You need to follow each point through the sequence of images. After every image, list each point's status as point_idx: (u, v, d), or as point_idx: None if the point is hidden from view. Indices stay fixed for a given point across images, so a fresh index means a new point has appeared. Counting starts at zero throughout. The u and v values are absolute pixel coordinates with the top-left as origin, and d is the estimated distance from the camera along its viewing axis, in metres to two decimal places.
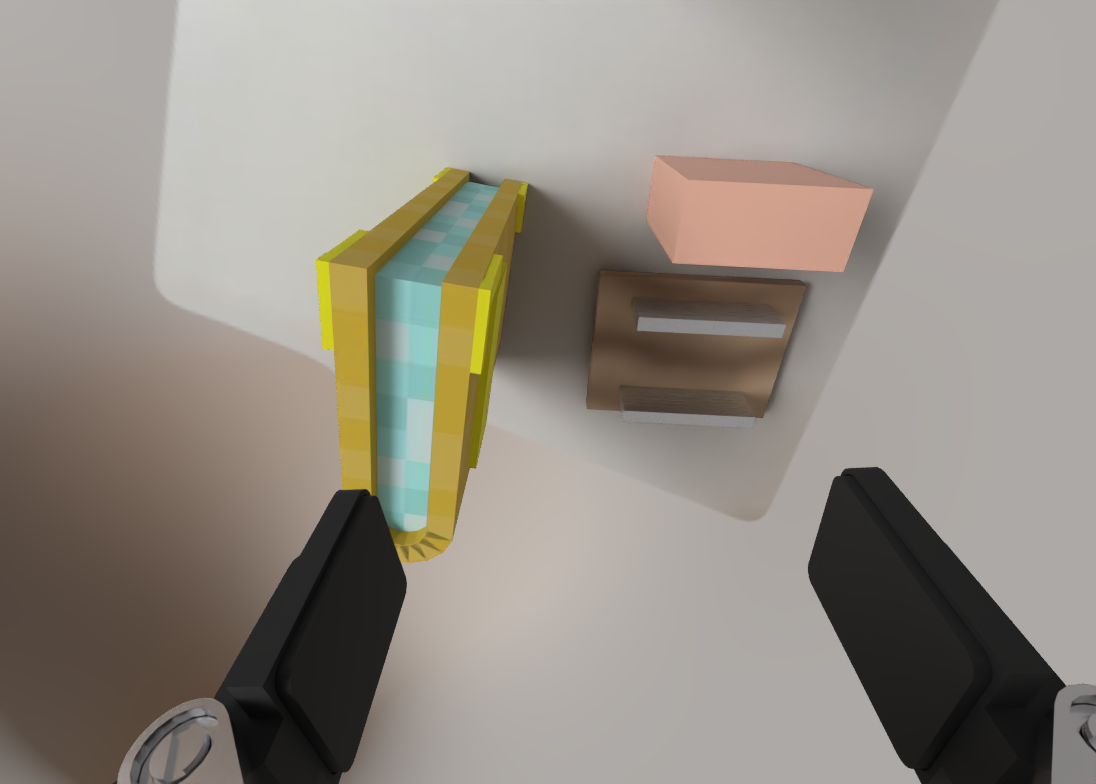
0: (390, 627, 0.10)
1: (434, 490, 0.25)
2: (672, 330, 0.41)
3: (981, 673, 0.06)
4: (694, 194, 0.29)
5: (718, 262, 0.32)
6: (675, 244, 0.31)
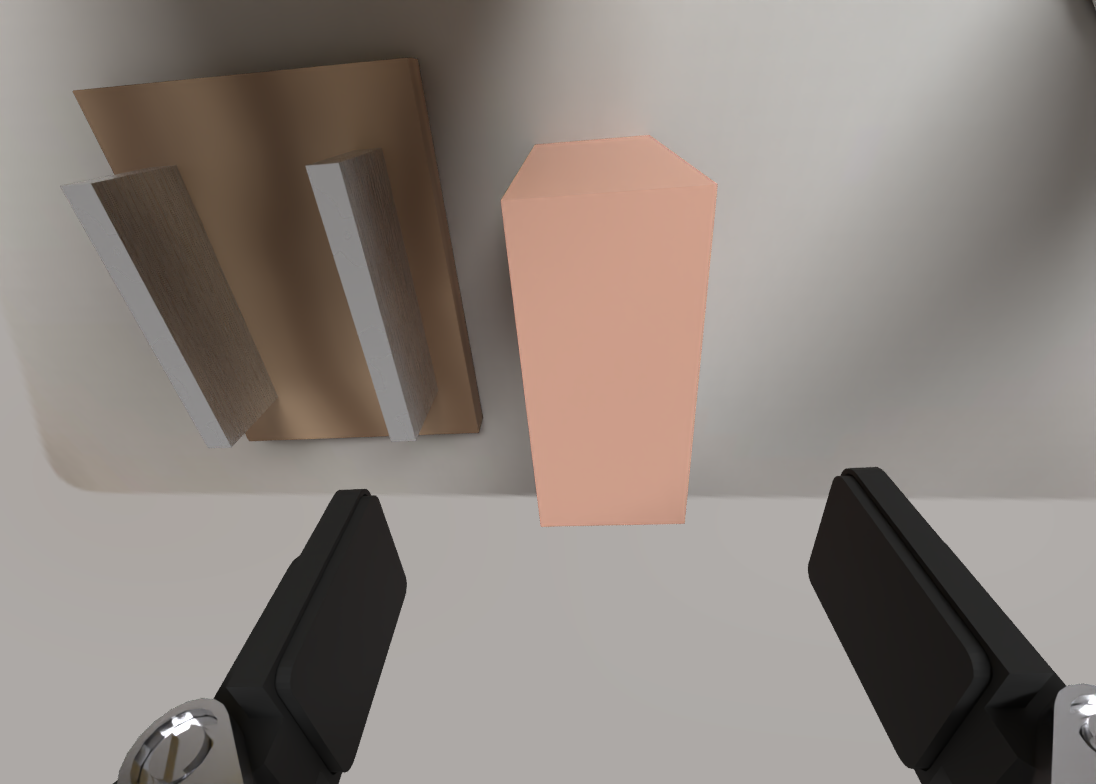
0: (390, 627, 0.10)
1: None
2: (336, 249, 0.18)
3: (981, 673, 0.06)
4: (680, 212, 0.12)
5: (522, 314, 0.13)
6: (549, 195, 0.12)
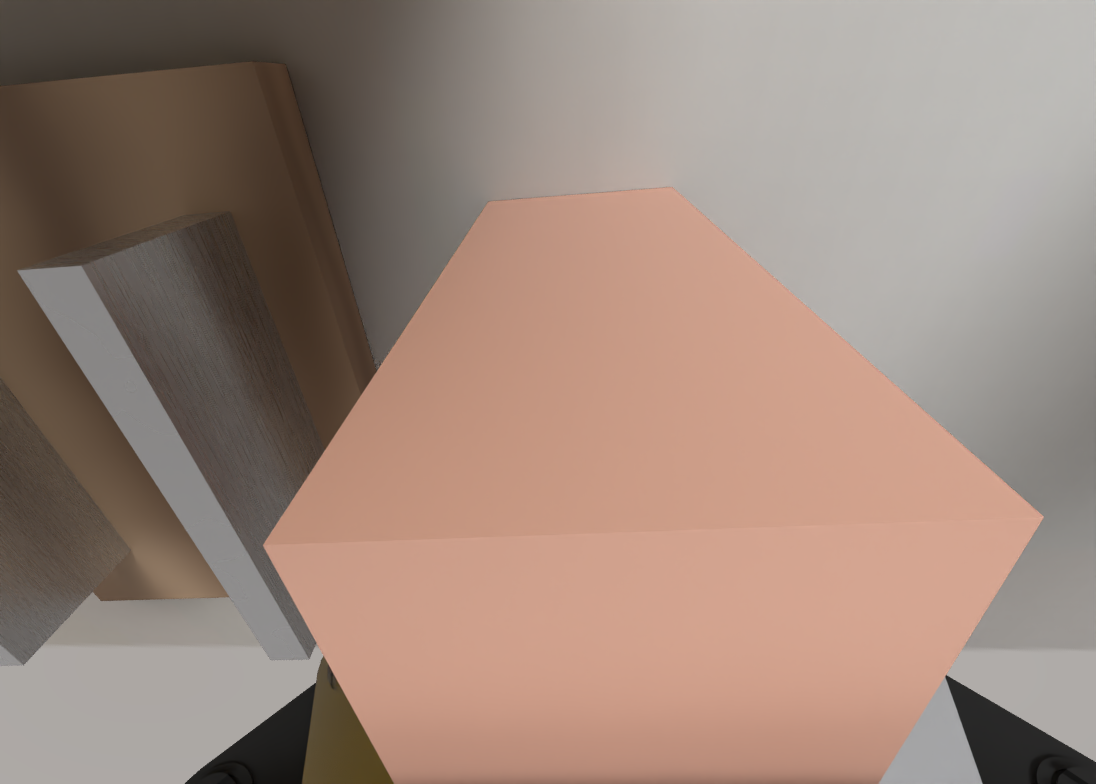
0: None
1: None
2: (115, 408, 0.10)
3: None
4: (884, 579, 0.03)
5: (395, 746, 0.05)
6: (436, 517, 0.03)
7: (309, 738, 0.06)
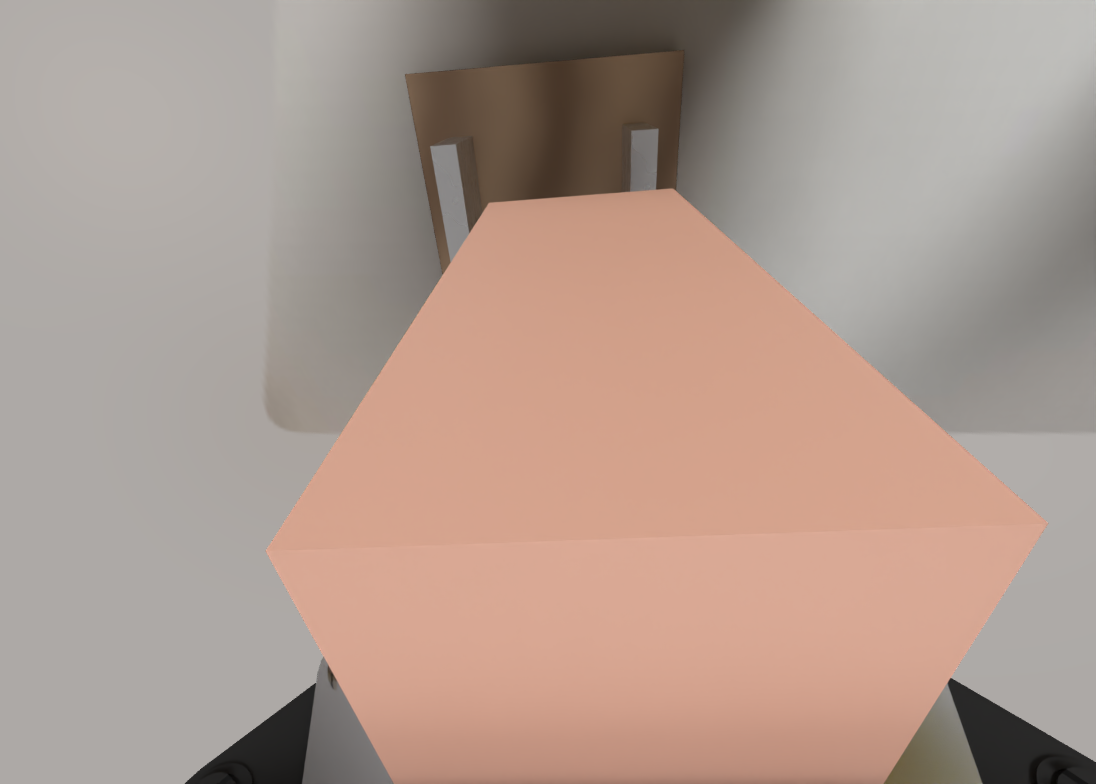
0: None
1: None
2: None
3: None
4: (887, 585, 0.03)
5: (397, 750, 0.05)
6: (439, 522, 0.03)
7: (309, 739, 0.06)
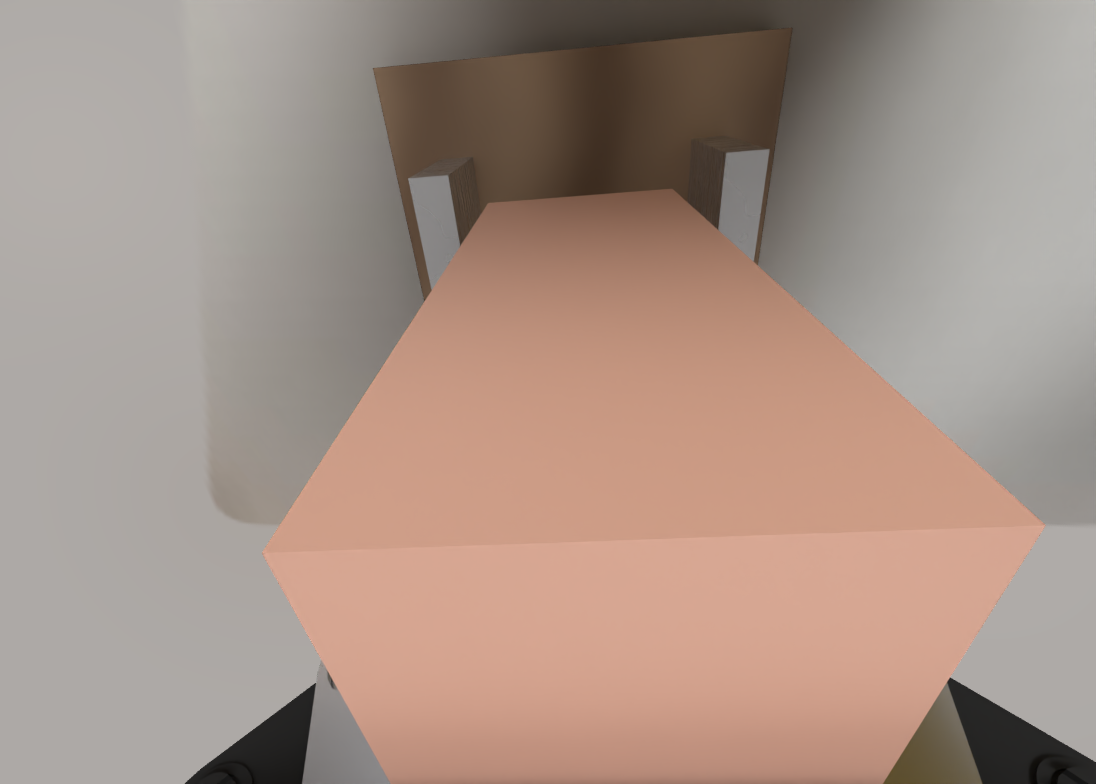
0: None
1: None
2: None
3: None
4: (885, 587, 0.03)
5: (394, 752, 0.05)
6: (435, 524, 0.03)
7: (309, 739, 0.06)
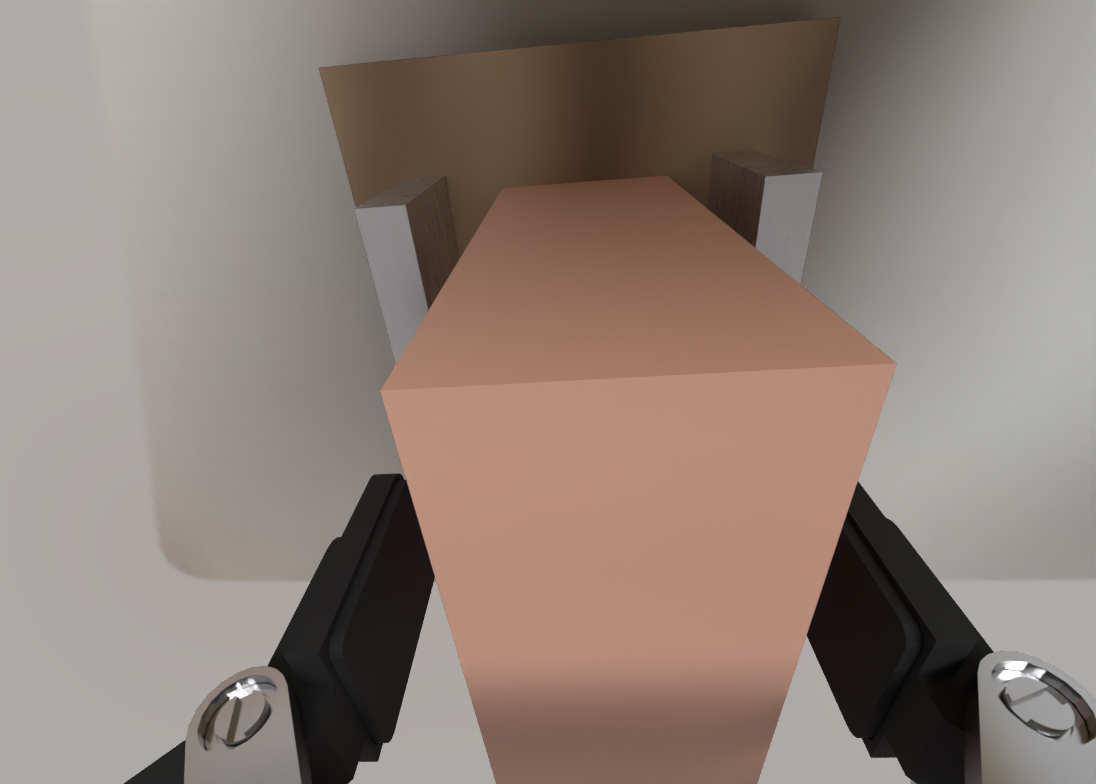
0: (422, 608, 0.10)
1: None
2: None
3: (914, 642, 0.07)
4: (798, 416, 0.05)
5: (451, 578, 0.06)
6: (495, 375, 0.05)
7: None
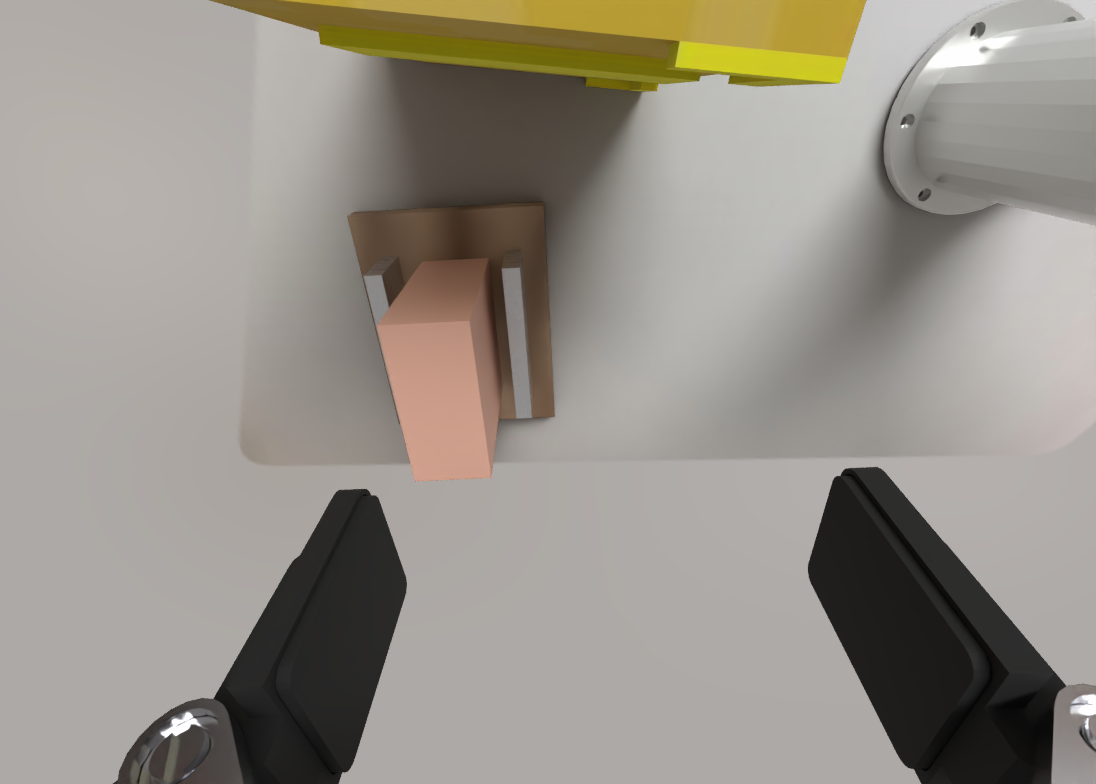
0: (390, 627, 0.10)
1: None
2: (508, 309, 0.34)
3: (981, 673, 0.06)
4: (456, 331, 0.27)
5: (391, 372, 0.28)
6: (399, 323, 0.27)
7: None
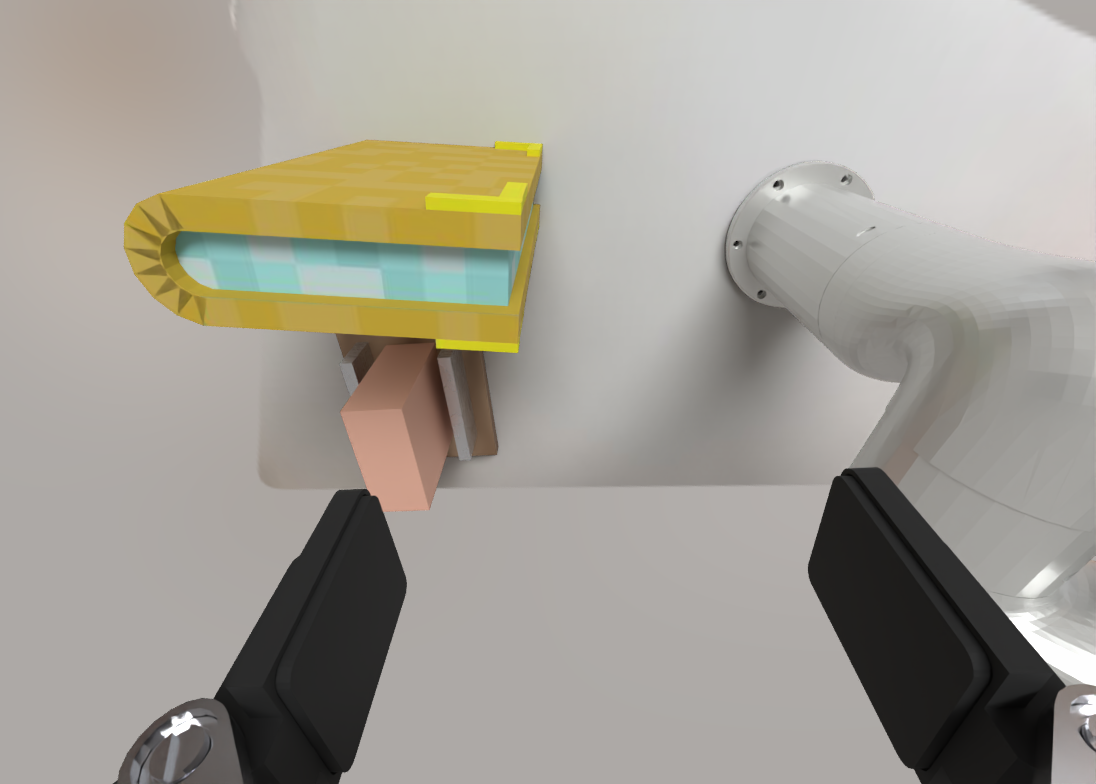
0: (390, 627, 0.10)
1: (274, 306, 0.22)
2: (444, 385, 0.46)
3: (981, 673, 0.06)
4: (393, 415, 0.39)
5: (352, 440, 0.41)
6: (355, 409, 0.39)
7: None
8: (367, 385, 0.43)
